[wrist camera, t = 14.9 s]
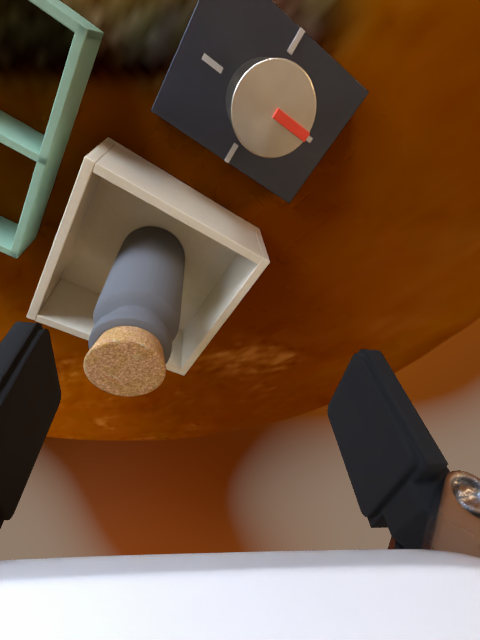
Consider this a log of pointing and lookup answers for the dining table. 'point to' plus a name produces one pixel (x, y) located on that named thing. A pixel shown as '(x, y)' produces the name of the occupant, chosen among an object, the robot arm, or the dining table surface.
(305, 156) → the dial faceplate
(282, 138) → the dial knob
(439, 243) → the dining table surface
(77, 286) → the white storage tray
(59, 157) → the green divided open-frame rack
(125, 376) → the bottle
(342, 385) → the robot arm
